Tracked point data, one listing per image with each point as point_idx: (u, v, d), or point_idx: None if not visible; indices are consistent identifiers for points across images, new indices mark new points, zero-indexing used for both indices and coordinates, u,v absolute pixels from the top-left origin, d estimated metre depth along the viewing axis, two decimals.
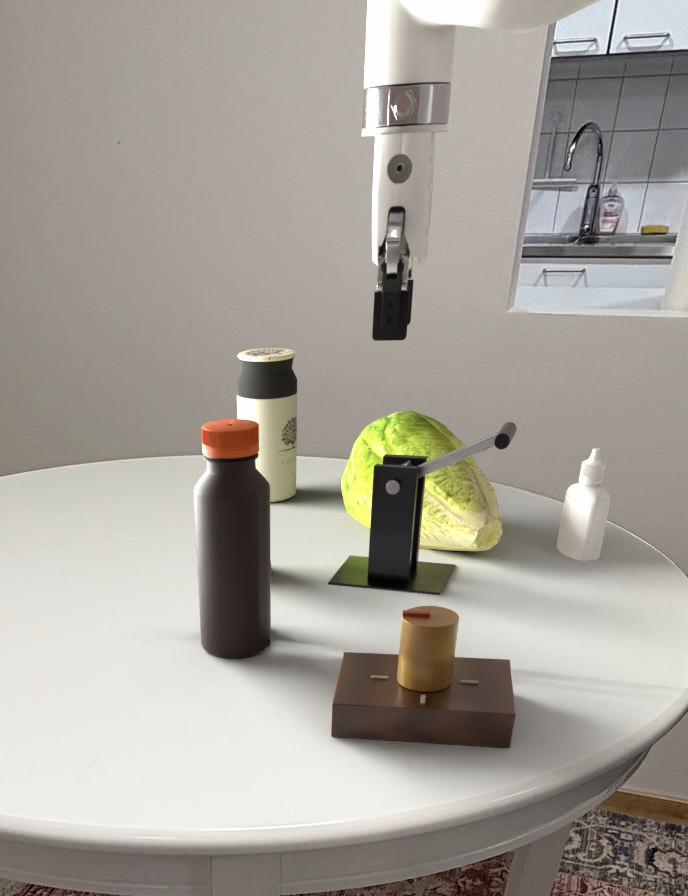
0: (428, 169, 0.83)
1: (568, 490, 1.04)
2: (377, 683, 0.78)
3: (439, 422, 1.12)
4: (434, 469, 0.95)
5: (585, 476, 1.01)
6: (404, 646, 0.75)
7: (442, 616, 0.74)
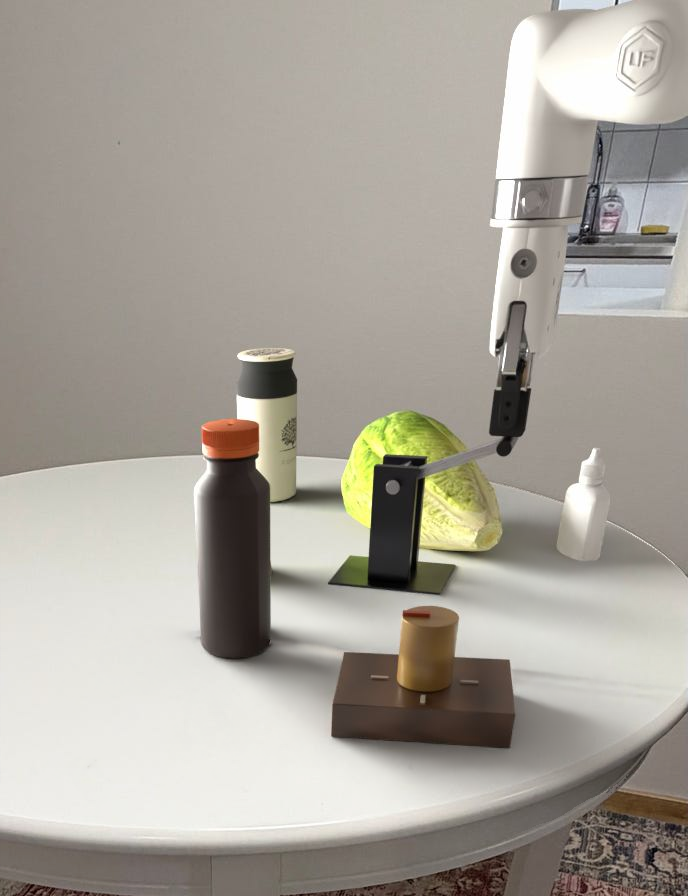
0: (554, 264, 0.79)
1: (568, 490, 1.04)
2: (377, 683, 0.78)
3: (439, 422, 1.12)
4: (435, 471, 0.95)
5: (585, 476, 1.01)
6: (404, 646, 0.75)
7: (442, 616, 0.74)
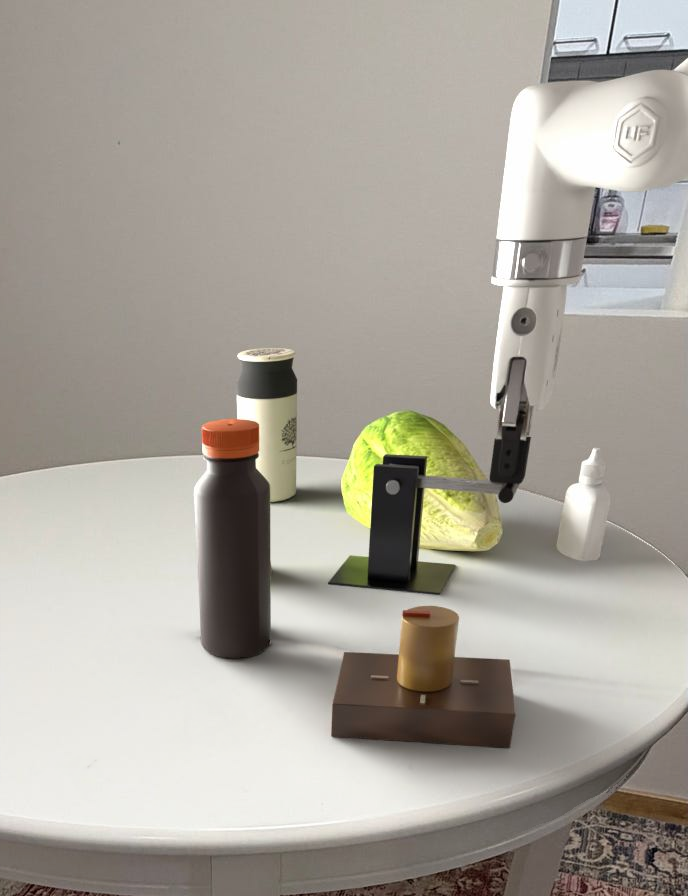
0: (553, 323, 0.82)
1: (568, 490, 1.04)
2: (377, 683, 0.78)
3: (439, 422, 1.12)
4: (434, 487, 0.96)
5: (585, 476, 1.01)
6: (404, 646, 0.75)
7: (442, 616, 0.74)
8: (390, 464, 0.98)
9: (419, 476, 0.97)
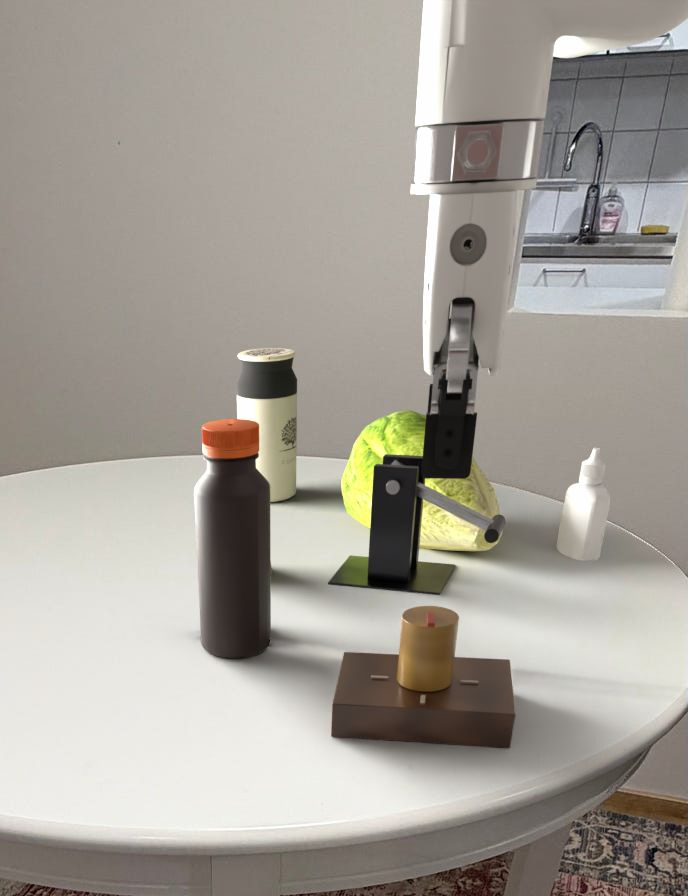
0: (510, 245, 0.56)
1: (568, 490, 1.04)
2: (377, 683, 0.78)
3: None
4: (429, 500, 0.97)
5: (585, 476, 1.01)
6: (444, 651, 0.74)
7: (431, 611, 0.75)
8: (395, 461, 0.98)
9: (419, 484, 0.97)
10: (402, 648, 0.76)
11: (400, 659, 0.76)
